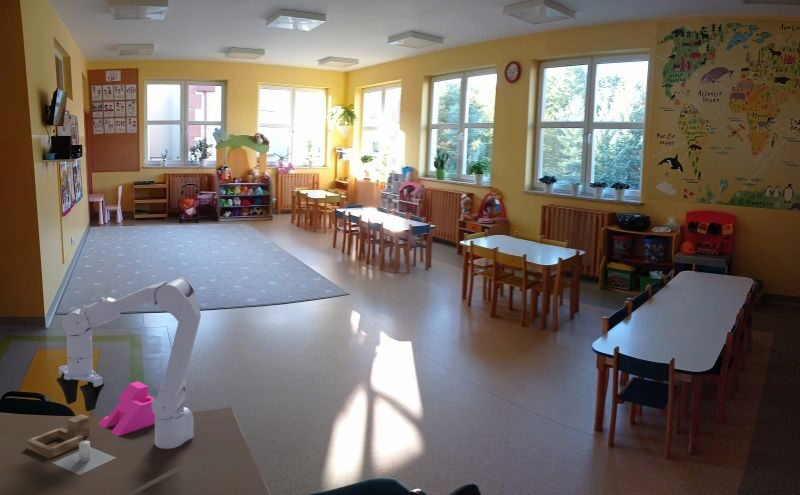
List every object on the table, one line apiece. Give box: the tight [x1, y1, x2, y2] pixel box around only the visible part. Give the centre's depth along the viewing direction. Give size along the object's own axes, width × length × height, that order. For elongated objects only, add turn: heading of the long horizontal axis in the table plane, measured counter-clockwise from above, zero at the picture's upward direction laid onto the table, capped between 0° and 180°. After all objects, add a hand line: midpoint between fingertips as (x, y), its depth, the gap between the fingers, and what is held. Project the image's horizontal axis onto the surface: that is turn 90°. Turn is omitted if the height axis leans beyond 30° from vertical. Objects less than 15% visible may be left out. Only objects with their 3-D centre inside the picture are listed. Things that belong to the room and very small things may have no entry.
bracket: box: [98, 381, 156, 437], centre depth 173 cm, size 12×10×10 cm
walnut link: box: [26, 413, 90, 459], centre depth 161 cm, size 13×9×6 cm
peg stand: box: [52, 440, 117, 476], centre depth 153 cm, size 10×10×6 cm
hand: (81, 406), depth 163 cm, fingers open, 7 cm apart
